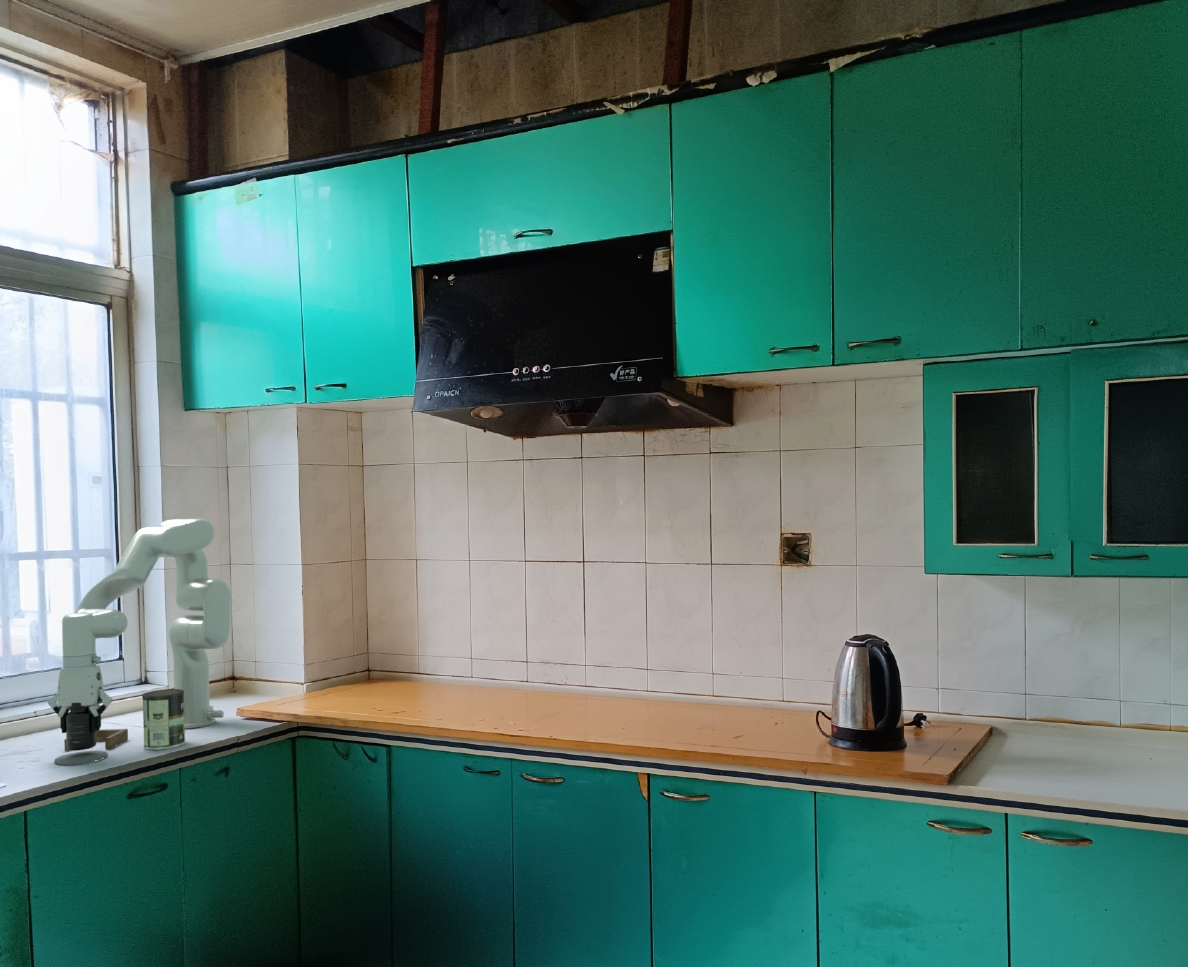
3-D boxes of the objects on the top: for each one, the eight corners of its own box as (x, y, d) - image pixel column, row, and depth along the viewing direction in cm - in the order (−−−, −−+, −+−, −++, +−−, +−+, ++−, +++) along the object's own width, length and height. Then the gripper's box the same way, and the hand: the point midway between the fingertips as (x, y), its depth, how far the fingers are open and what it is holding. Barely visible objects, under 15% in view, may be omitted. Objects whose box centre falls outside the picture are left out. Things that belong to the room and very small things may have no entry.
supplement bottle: (73, 745, 259) (72, 698, 259) (100, 743, 259) (99, 697, 259) (61, 751, 252) (60, 704, 252) (89, 750, 252) (88, 702, 252)
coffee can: (181, 738, 273) (180, 687, 273) (188, 746, 264) (187, 692, 264) (140, 744, 267) (139, 692, 268) (146, 752, 259) (145, 697, 259)
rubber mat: (116, 752, 260) (116, 750, 260) (93, 764, 248) (93, 762, 248) (69, 753, 259) (69, 751, 259) (45, 766, 247) (45, 763, 247)
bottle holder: (127, 739, 273) (127, 728, 273) (109, 749, 263) (109, 738, 263) (84, 741, 273) (84, 730, 273) (64, 751, 263) (64, 739, 263)
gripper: (120, 658, 259) (121, 727, 259) (53, 660, 259) (54, 729, 259) (106, 663, 252) (108, 734, 252) (37, 665, 252) (38, 736, 252)
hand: (80, 730), depth 255 cm, fingers closed on supplement bottle, 6 cm apart
